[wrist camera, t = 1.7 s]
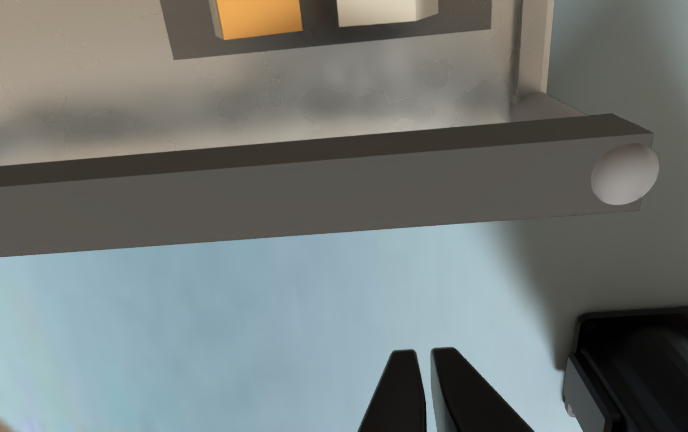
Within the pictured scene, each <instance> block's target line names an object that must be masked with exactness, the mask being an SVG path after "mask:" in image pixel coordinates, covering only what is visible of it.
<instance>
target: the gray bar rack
mask: <svg viewBox="0 0 688 432" xmlns="http://www.w3.org/2000/svg"><path fill="white" fill-rule="evenodd" d="M509 117H510V122H508V123H496V124H484V125H473V126H461V127H449V128H437V129H426V130H414V131H402V132H391V133H379V134H367V135H356V136H344V137H332V138H321V139H309V140H297V141H285V142H274V143H262V144H250V145H239V146H227V147H215V148H204V149H192V150H180V151H168V152H157V153H145V154H133V155H122V156H110V157H98V158H87V159H75V160H63V161H52V162H40V163H28V164H16V165H5V166H0V257H9V256H23V255H37V254H50V253H64V252H78V251H92V250H105V249H119V248H133V247H146V246H160V245H174V244H188V243H201V242H215V241H229V240H243V239H256V238H270V237H284V236H297V235H311V234H325V233H339V232H352V231H366V230H380V229H393V228H407V227H421V226H435V225H448V224H462V223H476V222H490V221H503V220H517V219H531V218H544V217H558V216H572V215H586V214H599V213H613V212H627V211H639V208H640V203H641V198H642V196H643V195H645V194H646V193H647V192H648V191H649V190H650V189H651V188H652V186H653V185H654V183H655V181H656V179H657V177H658V174H659V160H658V157H657V155H656V154H655V152H654V151H653V150H652V149H651V144H652V139H653V134H654V133H652V132H650V131H648V130H646V129H644V128H642V127H639V126H637V125H635V124H633V123H631V122H629V121H627V120H624V119H622V118H620V117H618V116H616V115H614V114H601V115H590V116H588V115H586V114H584V113H582V112H580V111H578V110H576V109H575V108H573V107H571V106H569V105H567V104H565V103H563V102H561V101H559V100H557V99H555V98H553V97H551V96H550V95H548V94H546V93H544V92H541V91H540V93H535V94H531V95H529V96H527V97H525V98H524V99H523V100H522V101H521V102H520V103H519V104H518V105H517V106H516V105H514V104H512V106H511V108H510V113H509Z"/></svg>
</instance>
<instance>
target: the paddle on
mask: <svg viewBox="0 0 688 432" xmlns="http://www.w3.org/2000/svg"><path fill="white" fill-rule="evenodd" d="M337 9H338V19H339V27H346V26H359V25H371V24H384V23H397V22H409V21H417V20H420V19H423V18H426V17H429V16H432V15H435V14H438V0H337Z"/></svg>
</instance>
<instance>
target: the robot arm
mask: <svg viewBox="0 0 688 432" xmlns="http://www.w3.org/2000/svg"><path fill="white" fill-rule="evenodd" d="M590 322H592V323H591V324H590V325H587V326H586V324H588V323H590ZM431 390H432V399H433V406H434V412H435V419H436V426H437V432H534V430H533V429H532V428H531V427H530V426H529V425H528V424H527V423H526V422H525V421H524V420H523V419H522V418H521V417H520V416H519V415H518V414H517V413H516V412H515V410H514V409H513V408H512V407H511V406H510V405H509V404H508V403H507V402H506V401H505V400H504V399H503V398H502V397H501V396H500V395H499V394H498V393H497V391H496V390H495V389H494V388H493V387H492V386H491V385H490V384H489V383H488V382H487V381H486V380H485V379H484V378H483V377H482V376H481V375H480V374H479V373H478V371H477V370H476V369H475V368H474V367H473V366H472V365H471V364H470V363H469V362H468V361H467V360H466V359H465V358H464V357H463V356H462V355H461V354H460V353H459V351H458V350H457V349H455V348H453V347H442V348H433V349H432V350H431ZM563 393H564V396H565V398H566V399H565V409H566V411H567V413H568V414H569V416H571V417H576V419H577V421H578V423H579V424H580V426H581V428H582V430H583V432H688V307H680V308H663V309H647V310H630V311H613V312H597V313H586V314H583V315H581V316H580V317H579V318H578V319H577V322H576V328H575V335H574V342H573V349H572V353H570V355H569V356H568V359H567V367H566V374H565V381H564V389H563ZM358 432H427V422H426V401H425V394H424V389H423V384H422V379H421V374H420V369H419V364H418V359H417V354H416V352H415V350H413V349H406V350H394V351H393V352H392V353H391V355H390V357H389V360H388V362H387V364H386V366H385V369H384V371H383V373H382V376H381V378H380V380H379V383H378V385H377V387H376V390H375V392H374V394H373V397H372V399H371V401H370V404H369V406H368V408H367V411H366V413H365V415H364V418H363V420H362V422H361V425H360V427H359V429H358Z"/></svg>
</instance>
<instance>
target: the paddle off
mask: <svg viewBox="0 0 688 432" xmlns="http://www.w3.org/2000/svg"><path fill="white" fill-rule="evenodd" d="M209 5H210V10H211V15H212V20H213V25H214V30H215V35H216V36H217V37H219V38H221V39H223V40H229V39H238V38H246V37H254V36H263V35H271V34H279V33H288V32H296V31H303V29H302V21H301V13H300V5H299V0H209Z"/></svg>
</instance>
